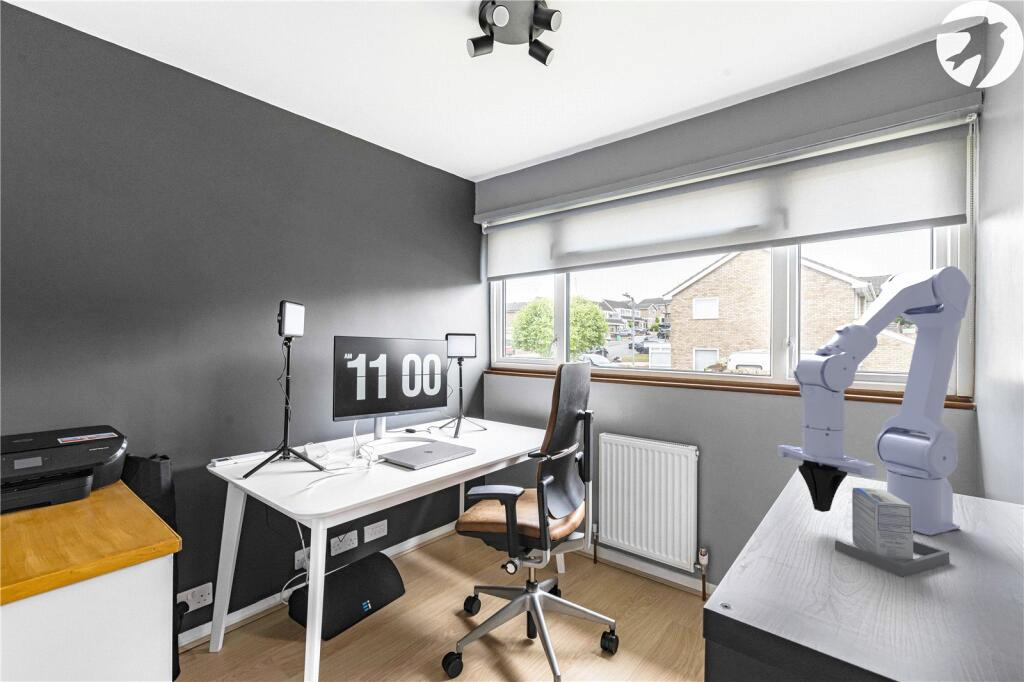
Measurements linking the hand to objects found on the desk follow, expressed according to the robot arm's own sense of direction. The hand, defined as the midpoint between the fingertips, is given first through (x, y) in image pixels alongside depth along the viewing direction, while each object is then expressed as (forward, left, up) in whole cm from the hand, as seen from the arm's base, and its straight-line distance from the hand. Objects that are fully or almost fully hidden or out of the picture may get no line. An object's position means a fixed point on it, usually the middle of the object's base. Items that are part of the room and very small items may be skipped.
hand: (822, 510), depth 75 cm
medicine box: (+1, +9, -4) cm, 10 cm away
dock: (0, +9, -3) cm, 10 cm away
